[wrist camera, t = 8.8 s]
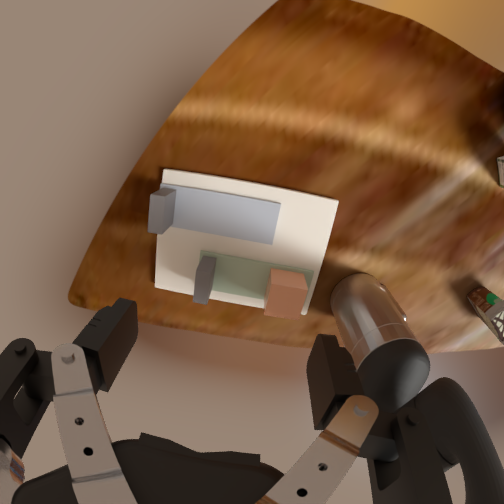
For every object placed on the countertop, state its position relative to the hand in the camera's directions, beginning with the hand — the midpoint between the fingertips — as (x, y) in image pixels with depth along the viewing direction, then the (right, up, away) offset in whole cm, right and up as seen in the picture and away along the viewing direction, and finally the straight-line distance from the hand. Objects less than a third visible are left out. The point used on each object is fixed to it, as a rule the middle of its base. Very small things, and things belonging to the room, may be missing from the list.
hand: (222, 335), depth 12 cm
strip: (-4, +9, +28) cm, 30 cm away
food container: (+50, -6, +34) cm, 60 cm away
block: (+6, -1, +32) cm, 32 cm away
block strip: (+2, 0, +32) cm, 32 cm away
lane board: (-1, +5, +31) cm, 32 cm away
